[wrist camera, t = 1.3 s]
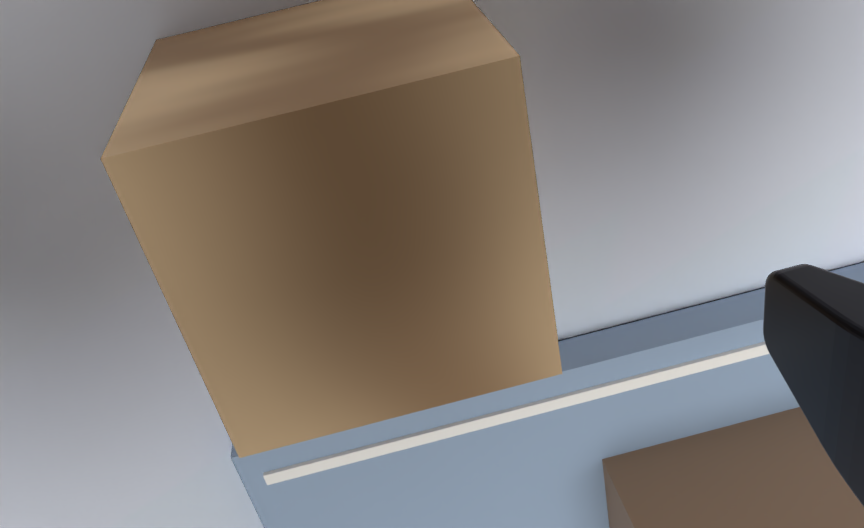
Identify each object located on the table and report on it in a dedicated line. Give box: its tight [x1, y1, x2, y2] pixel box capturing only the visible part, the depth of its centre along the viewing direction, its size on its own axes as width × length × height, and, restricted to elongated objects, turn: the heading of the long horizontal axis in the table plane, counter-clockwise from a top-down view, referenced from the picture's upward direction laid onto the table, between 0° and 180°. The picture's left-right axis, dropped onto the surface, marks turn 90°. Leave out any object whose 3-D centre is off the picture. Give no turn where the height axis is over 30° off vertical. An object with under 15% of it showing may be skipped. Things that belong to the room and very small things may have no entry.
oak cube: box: [101, 0, 562, 458], centre depth 13 cm, size 5×5×5 cm
